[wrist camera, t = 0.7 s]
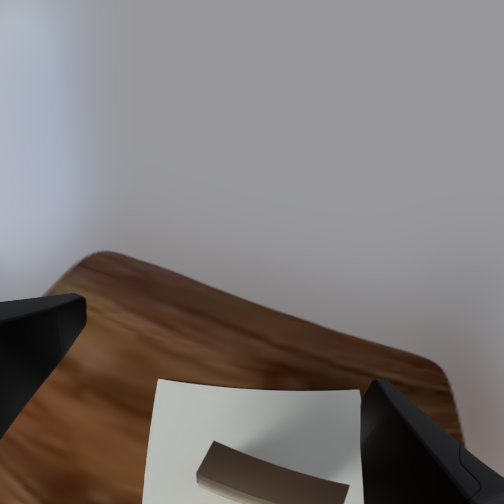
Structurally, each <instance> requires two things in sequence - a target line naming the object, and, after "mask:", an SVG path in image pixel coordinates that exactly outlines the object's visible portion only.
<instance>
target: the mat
mask: <svg viewBox="0 0 504 504" xmlns="http://www.w3.org/2000/svg"><path fill="white" fill-rule="evenodd" d="M360 405H361V397H360V391H359V390H339V391H274V390H253V389H238V388H226V387H216V386H206V385H198V384H190V383H182V382H175V381H169V380H162V379H158V383H157V389H156V395H155V402H154V408H153V415H152V422H151V429H150V436H149V444H148V452H147V461H146V470H145V479H144V490H143V502H142V504H241V503H239V502H236V501H233V500H231V499H228V498H225V497H223V496H220V495H218V494H215V493H213V492H211V491H208V490H206V489H204V488H201V487H199V486H198V483H197V479H196V472H197V470H198V468H199V467H200V465H201V463H202V461H203V459H204V457H205V456H206V454H207V452H208V450H209V448H210V446H211V444H212V442H213V441H216V442H219V443H221V444H223V445H226V446H228V447H230V448H233V449H235V450H237V451H240V452H242V453H245V454H247V455H250V456H253V457H255V458H258V459H261V460H263V461H266V462H269V463H272V464H275V465H278V466H281V467H284V468H287V469H290V470H293V471H297V472H300V473H303V474H307V475H310V476H314V477H318V478H322V479H326V480H330V481H334V482H338V483H343V484H348V485H350V487H349V490H348V493H347V496H346V499H345V502H344V504H364V498H363V480H362V466H361V454H360Z"/></svg>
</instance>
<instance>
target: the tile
mask: <svg viewBox="0 0 504 504" xmlns="http://www.w3.org/2000/svg"><path fill="white" fill-rule="evenodd" d="M196 479H197V483H198V486H199V487H201V488H204V489H206V490H208V491H211V492H213V493H215V494H218V495H220V496H223V497H225V498H228V499H231V500H233V501H236V502H239V503H241V504H344V502H345V499H346V496H347V493H348V490H349V487H350V485H348V484H343V483H338V482H334V481H330V480H326V479H322V478H318V477H314V476H310V475H307V474H303V473H300V472H297V471H293V470H290V469H287V468H284V467H281V466H278V465H275V464H272V463H269V462H266V461H263V460H261V459H258V458H255V457H253V456H250V455H247V454H245V453H242V452H240V451H237V450H235V449H233V448H230V447H228V446H226V445H223V444H221V443H219V442H216V441H213V442H212V444H211V446H210V448H209V450H208V452H207V454H206V456H205V457H204V459H203V461H202V463H201V465H200V467H199V468H198V470H197V472H196Z"/></svg>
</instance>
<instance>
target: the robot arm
mask: <svg viewBox="0 0 504 504" xmlns="http://www.w3.org/2000/svg"><path fill="white" fill-rule="evenodd" d="M86 321H87V313H86V299H85V298H84V297H83V296H81V295H78V294H76V293H70V294H62V295H54V296H46V297H38V298H30V299H23V300H14V301H6V302H0V439H1V438H2V437H3V435H4V434H5V432H6V431H7V430H8V428H9V427H10V425H11V424H12V423H13V421H14V420H15V419H16V417H17V416H18V415H19V413H20V412H21V411H22V409H23V408H24V407H25V405H26V404H27V403H28V402H29V400H30V399H31V398H32V396H33V395H34V394H35V393H36V391H37V390H38V389H39V388H40V386H41V385H42V384H43V383H44V381H45V380H46V379H47V378H48V376H49V375H50V374H51V373H52V371H53V370H54V369H55V368H56V367H57V365H58V364H59V363H60V362H61V360H62V359H63V358H64V356H65V355H66V354H67V352H68V351H69V349H70V348H71V346H72V345H73V343H74V342H75V340H76V339H77V337H78V336H79V334H80V333H81V331H82V330H83V329H84V327H85V325H86ZM360 454H361V466H362V480H363V498H364V504H504V477H502V476H501V475H499V474H498V473H496V472H495V471H494V470H492V469H491V468H489V467H488V466H487V465H485V464H484V463H483V462H481V461H480V460H479V459H477V458H476V457H475V456H474V455H473V454H471V453H470V452H469V451H468V450H467V449H465V448H464V447H463V446H462V445H459V443H458V442H457V441H456V440H455V439H454V438H452V437H451V436H450V435H449V434H448V433H447V432H445V431H444V430H443V429H442V428H441V427H440V426H439V425H437V424H436V423H435V422H434V421H433V420H432V419H430V418H429V417H428V416H427V415H426V414H425V413H424V412H422V411H421V410H420V409H419V408H418V407H417V406H415V405H414V404H413V403H412V402H411V401H410V400H409V399H407V398H406V397H405V396H404V395H403V394H402V393H401V392H399V391H398V390H397V389H396V388H395V387H394V386H392V385H391V384H390V383H389V382H388V381H386V380H379V379H376V380H374V381H373V382H372V383H371V385H370V386H369V388H368V390H367V392H366V393H365V395H364V397H363V398H362V401H361V405H360Z"/></svg>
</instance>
